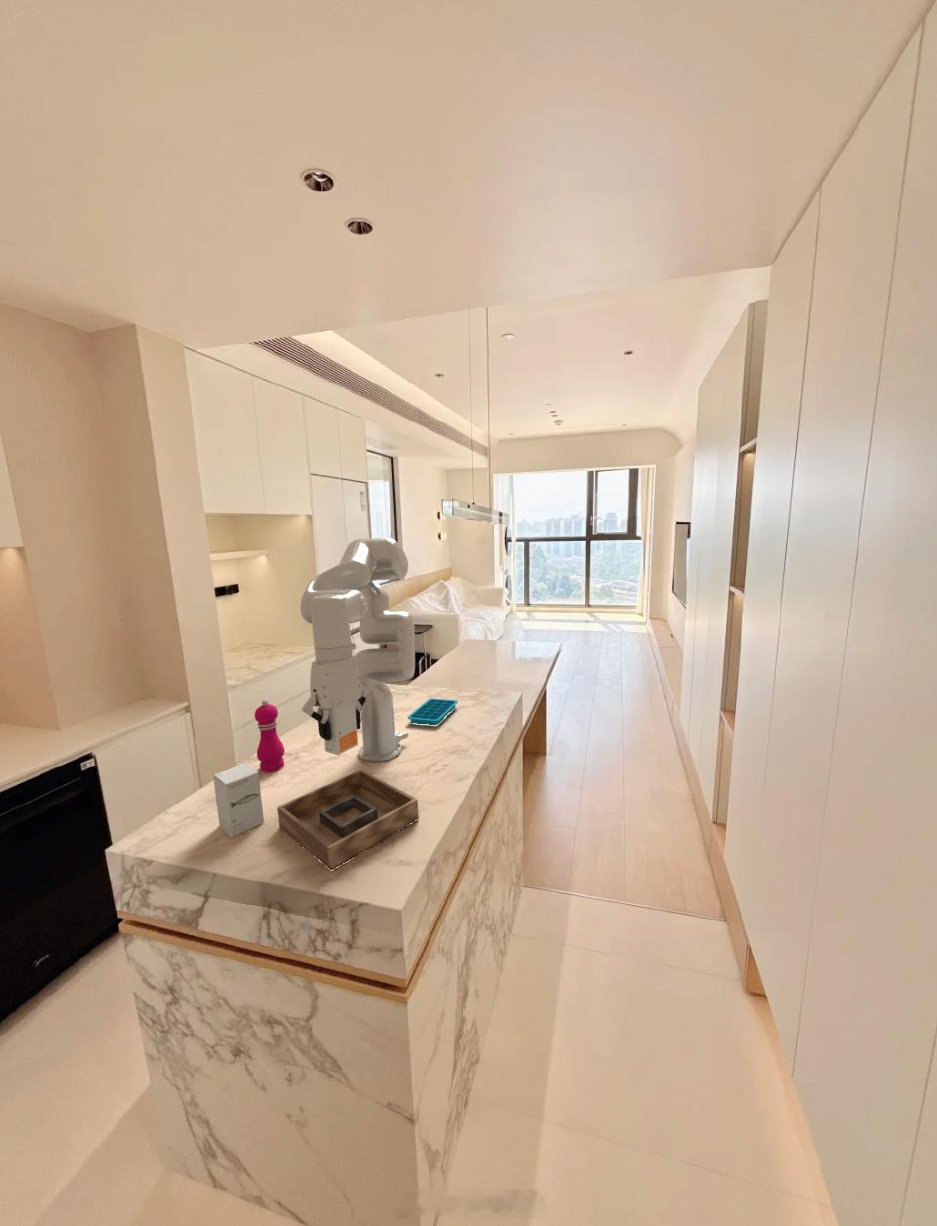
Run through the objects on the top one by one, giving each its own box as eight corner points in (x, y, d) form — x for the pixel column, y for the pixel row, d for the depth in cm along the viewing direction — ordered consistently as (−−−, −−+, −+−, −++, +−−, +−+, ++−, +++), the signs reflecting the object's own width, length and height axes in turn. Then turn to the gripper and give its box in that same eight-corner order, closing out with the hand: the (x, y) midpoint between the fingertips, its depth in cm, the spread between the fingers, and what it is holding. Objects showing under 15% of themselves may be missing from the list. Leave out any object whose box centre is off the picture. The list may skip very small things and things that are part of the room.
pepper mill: (276, 774, 131) (268, 704, 128) (253, 772, 132) (244, 704, 129) (291, 761, 138) (283, 695, 135) (268, 760, 139) (261, 695, 136)
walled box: (362, 787, 122) (361, 769, 121) (418, 819, 107) (417, 799, 106) (279, 827, 106) (277, 806, 105) (331, 872, 91) (329, 848, 90)
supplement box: (231, 838, 103) (224, 784, 101) (218, 825, 108) (211, 773, 106) (265, 823, 108) (259, 771, 106) (251, 811, 113) (245, 761, 111)
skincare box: (338, 756, 100) (333, 701, 98) (324, 752, 102) (319, 698, 101) (359, 745, 105) (355, 693, 103) (345, 741, 108) (341, 690, 106)
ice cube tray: (406, 726, 162) (406, 717, 161) (430, 705, 180) (430, 698, 180) (438, 729, 158) (437, 721, 157) (459, 708, 176) (458, 700, 176)
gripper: (358, 643, 109) (364, 717, 112) (286, 659, 97) (294, 742, 100) (378, 647, 104) (383, 724, 107) (304, 665, 92) (312, 752, 95)
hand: (340, 732), depth 103 cm, fingers closed on skincare box, 6 cm apart
